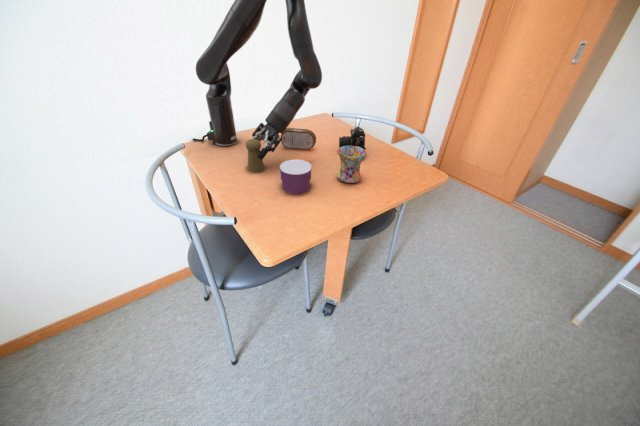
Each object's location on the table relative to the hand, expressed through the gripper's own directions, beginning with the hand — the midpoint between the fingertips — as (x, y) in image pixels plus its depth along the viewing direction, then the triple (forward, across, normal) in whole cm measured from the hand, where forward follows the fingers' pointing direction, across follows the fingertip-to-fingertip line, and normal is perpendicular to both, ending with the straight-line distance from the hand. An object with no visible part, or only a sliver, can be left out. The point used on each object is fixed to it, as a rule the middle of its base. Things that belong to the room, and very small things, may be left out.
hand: (254, 153), depth 97 cm
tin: (-12, -8, +20) cm, 25 cm away
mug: (-14, +22, +23) cm, 35 cm away
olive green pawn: (+4, 0, +4) cm, 6 cm away
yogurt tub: (0, +19, +9) cm, 21 cm away
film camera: (-24, +6, +33) cm, 42 cm away
